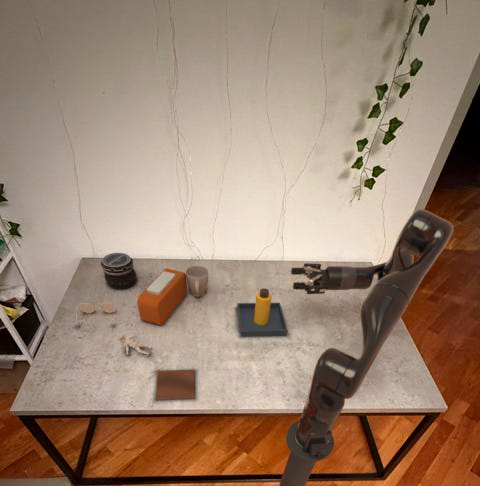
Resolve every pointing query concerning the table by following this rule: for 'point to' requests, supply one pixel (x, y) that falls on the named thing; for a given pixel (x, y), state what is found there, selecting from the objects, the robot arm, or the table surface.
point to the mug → (197, 280)
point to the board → (175, 385)
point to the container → (119, 270)
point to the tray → (250, 328)
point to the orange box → (162, 296)
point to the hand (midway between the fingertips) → (292, 278)
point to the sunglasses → (104, 306)
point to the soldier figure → (133, 344)
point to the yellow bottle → (262, 307)
